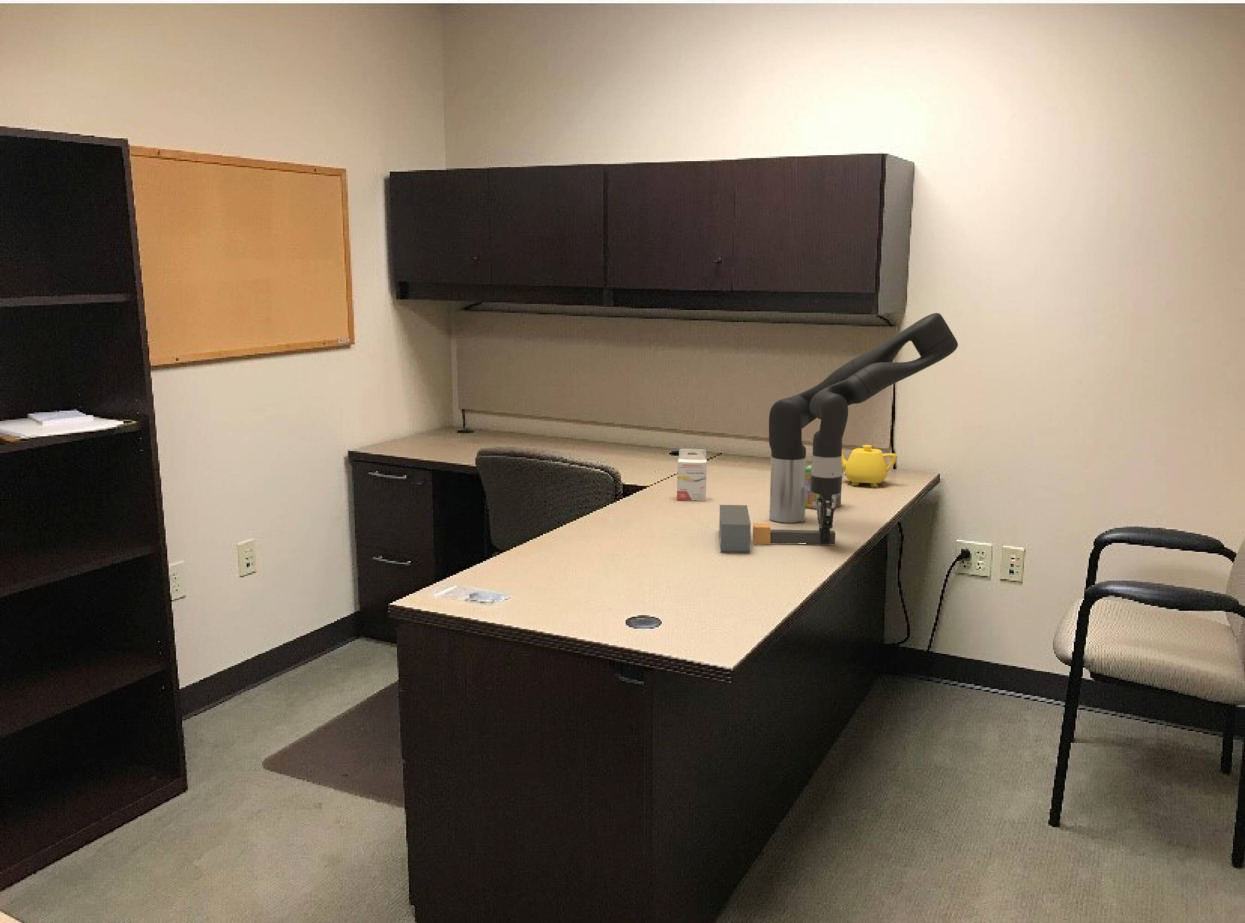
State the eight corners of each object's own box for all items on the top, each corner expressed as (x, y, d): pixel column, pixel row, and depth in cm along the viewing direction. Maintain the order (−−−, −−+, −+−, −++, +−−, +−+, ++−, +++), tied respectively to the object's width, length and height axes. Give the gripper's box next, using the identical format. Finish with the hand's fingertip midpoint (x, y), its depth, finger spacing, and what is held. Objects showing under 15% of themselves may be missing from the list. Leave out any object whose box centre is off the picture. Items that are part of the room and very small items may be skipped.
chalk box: (812, 501, 299) (814, 451, 296) (841, 505, 294) (844, 454, 291) (798, 507, 291) (800, 456, 288) (829, 511, 286) (831, 459, 283)
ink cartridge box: (676, 500, 299) (677, 451, 296) (677, 496, 304) (677, 448, 301) (705, 501, 298) (706, 451, 295) (706, 497, 303) (707, 448, 300)
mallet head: (746, 531, 265) (746, 505, 263) (749, 552, 245) (750, 524, 244) (719, 530, 265) (719, 504, 264) (720, 552, 246) (721, 524, 244)
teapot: (834, 477, 332) (835, 439, 330) (897, 481, 325) (899, 443, 323) (828, 485, 320) (829, 446, 317) (893, 490, 313) (895, 450, 311)
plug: (833, 541, 255) (833, 524, 255) (835, 545, 251) (836, 528, 250) (752, 539, 257) (753, 522, 256) (753, 544, 252) (754, 527, 252)
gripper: (846, 479, 243) (843, 549, 246) (837, 467, 257) (835, 534, 260) (814, 479, 244) (812, 548, 247) (807, 467, 257) (805, 533, 260)
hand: (824, 541), depth 253 cm, fingers closed on plug, 2 cm apart
